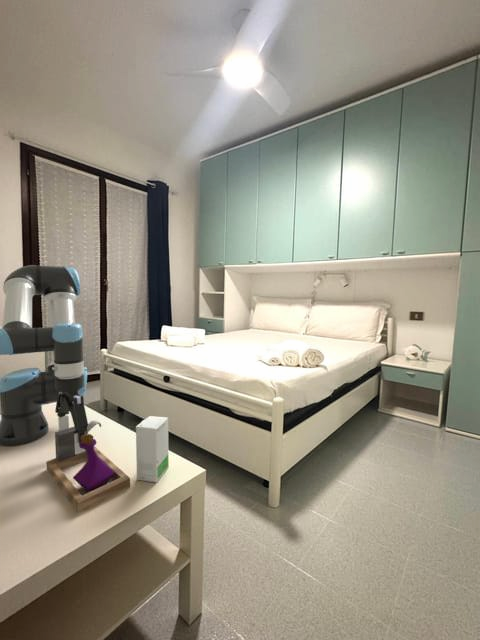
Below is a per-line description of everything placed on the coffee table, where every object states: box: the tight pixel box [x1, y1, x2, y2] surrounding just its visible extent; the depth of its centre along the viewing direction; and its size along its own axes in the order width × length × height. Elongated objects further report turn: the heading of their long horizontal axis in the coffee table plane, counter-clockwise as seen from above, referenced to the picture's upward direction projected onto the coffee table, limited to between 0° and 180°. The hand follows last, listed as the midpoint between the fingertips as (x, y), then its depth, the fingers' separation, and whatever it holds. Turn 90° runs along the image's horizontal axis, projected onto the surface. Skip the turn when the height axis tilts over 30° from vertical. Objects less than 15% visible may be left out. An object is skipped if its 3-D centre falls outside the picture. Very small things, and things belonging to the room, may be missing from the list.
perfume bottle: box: [72, 420, 115, 493], centre depth 79 cm, size 8×8×18 cm
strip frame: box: [45, 426, 131, 513], centre depth 83 cm, size 24×13×10 cm, turn 48°
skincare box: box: [135, 415, 170, 483], centre depth 86 cm, size 8×7×16 cm
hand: (72, 444), depth 90 cm, fingers open, 13 cm apart
